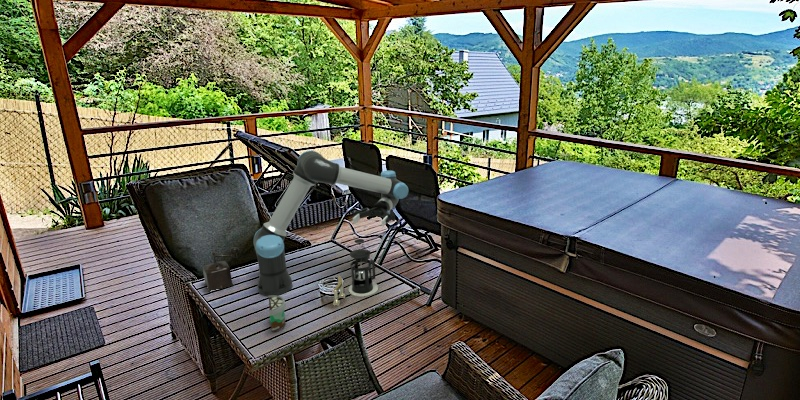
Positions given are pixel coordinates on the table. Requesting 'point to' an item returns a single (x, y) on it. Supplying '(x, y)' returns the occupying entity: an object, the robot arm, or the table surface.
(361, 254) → the french press
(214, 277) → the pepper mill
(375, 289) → the coaster
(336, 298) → the ceiling spotlight
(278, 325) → the food container
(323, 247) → the table surface
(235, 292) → the table surface
